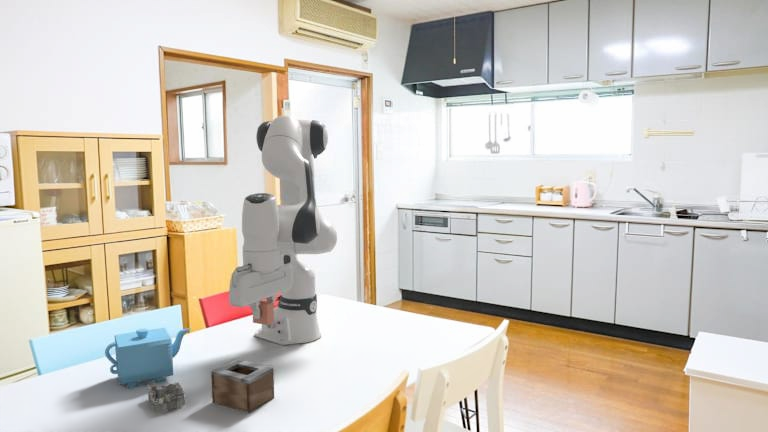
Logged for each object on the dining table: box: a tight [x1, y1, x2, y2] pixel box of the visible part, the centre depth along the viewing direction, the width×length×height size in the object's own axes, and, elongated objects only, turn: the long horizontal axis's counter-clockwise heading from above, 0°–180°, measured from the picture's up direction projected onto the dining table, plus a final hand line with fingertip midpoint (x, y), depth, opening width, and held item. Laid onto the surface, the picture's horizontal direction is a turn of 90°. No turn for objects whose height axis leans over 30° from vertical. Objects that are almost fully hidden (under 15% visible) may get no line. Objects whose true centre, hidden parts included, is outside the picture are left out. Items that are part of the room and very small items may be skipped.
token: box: [252, 300, 275, 325], centre depth 136 cm, size 4×2×5 cm, turn 63°
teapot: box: [104, 327, 192, 389], centre depth 151 cm, size 22×11×14 cm, turn 120°
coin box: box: [210, 358, 275, 414], centre depth 137 cm, size 12×9×8 cm
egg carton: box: [147, 381, 186, 413], centre depth 136 cm, size 11×8×4 cm
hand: (263, 315), depth 136 cm, fingers closed on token, 2 cm apart
